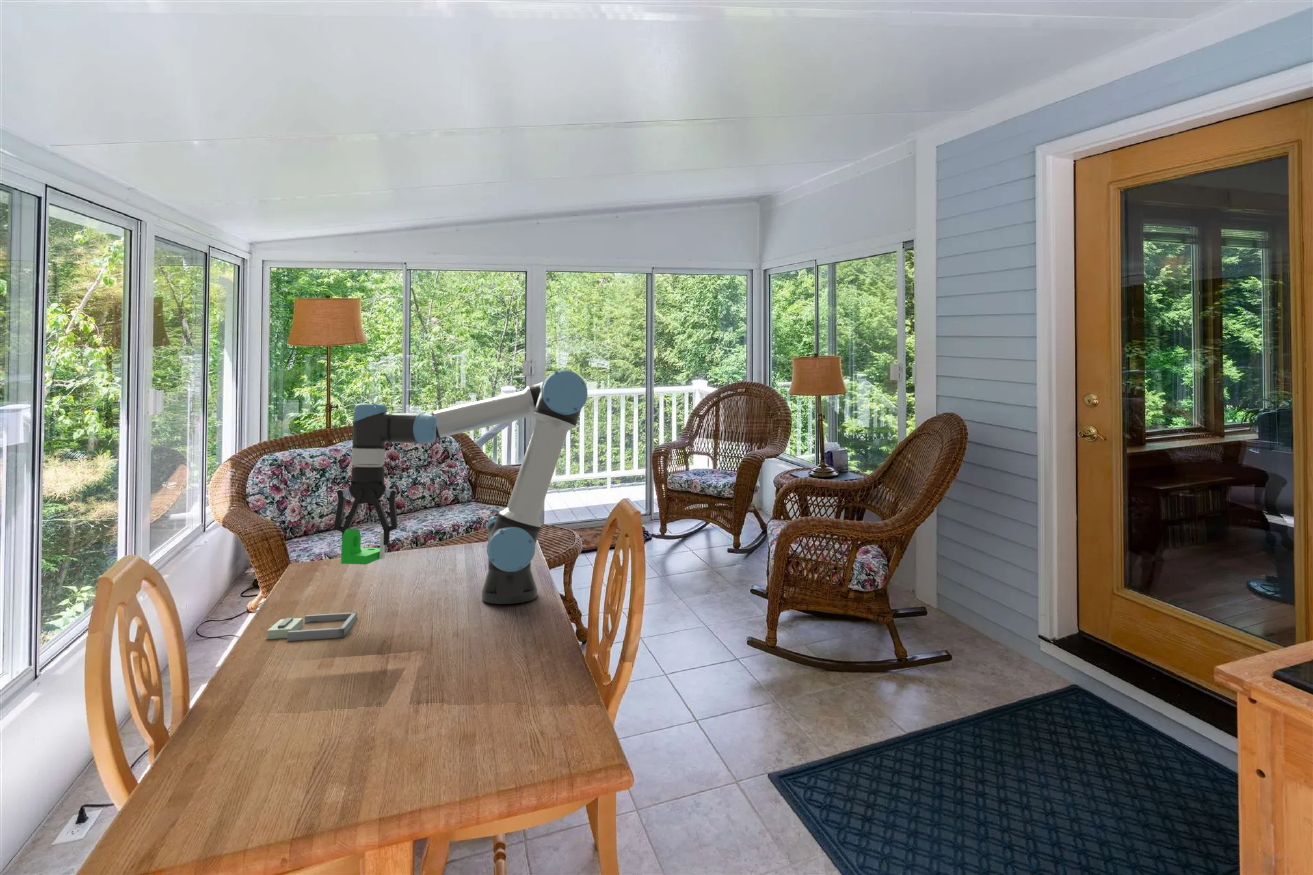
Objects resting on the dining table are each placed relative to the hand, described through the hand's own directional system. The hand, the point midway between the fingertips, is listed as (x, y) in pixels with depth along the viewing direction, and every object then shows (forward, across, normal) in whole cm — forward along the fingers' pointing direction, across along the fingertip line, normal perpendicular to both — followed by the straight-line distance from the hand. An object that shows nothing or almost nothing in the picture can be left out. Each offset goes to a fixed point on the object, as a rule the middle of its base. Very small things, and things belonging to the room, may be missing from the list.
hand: (365, 558), depth 165 cm
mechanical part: (0, 0, 0) cm, 1 cm away
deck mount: (+17, +9, +1) cm, 20 cm away
